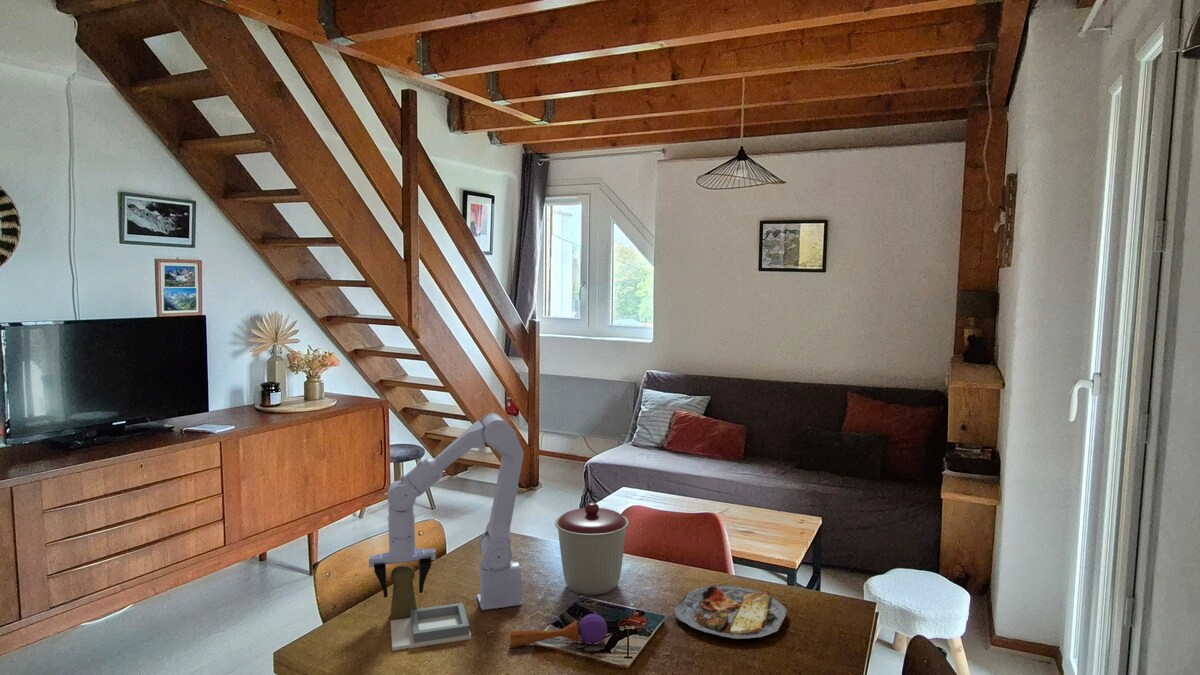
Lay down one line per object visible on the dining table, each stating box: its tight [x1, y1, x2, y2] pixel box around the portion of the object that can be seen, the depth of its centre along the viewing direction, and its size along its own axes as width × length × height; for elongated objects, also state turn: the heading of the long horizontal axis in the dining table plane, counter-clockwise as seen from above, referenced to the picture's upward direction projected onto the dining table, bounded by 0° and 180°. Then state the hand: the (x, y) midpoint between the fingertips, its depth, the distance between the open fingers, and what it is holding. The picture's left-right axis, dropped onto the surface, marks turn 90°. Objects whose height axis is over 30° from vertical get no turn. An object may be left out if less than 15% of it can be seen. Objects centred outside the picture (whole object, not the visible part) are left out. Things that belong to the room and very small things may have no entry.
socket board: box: [390, 602, 472, 652], centre depth 155 cm, size 16×12×3 cm
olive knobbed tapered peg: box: [389, 564, 418, 621], centre depth 162 cm, size 6×6×11 cm
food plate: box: [674, 584, 788, 640], centre depth 161 cm, size 25×23×4 cm
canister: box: [554, 502, 630, 596], centre depth 177 cm, size 18×18×21 cm
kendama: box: [509, 613, 608, 649], centre depth 149 cm, size 6×6×20 cm
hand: (403, 593), depth 162 cm, fingers open, 7 cm apart
